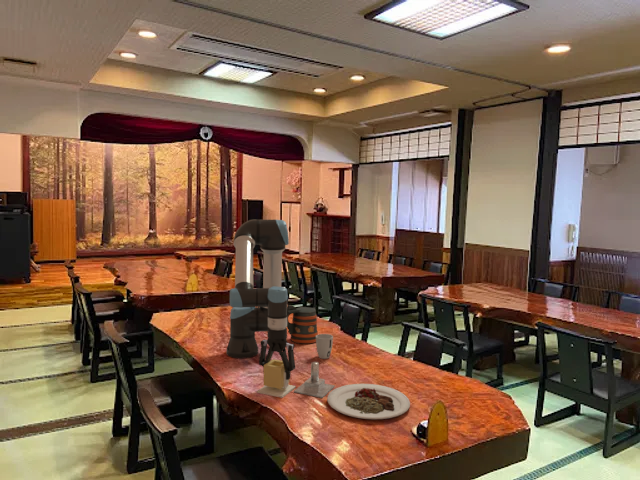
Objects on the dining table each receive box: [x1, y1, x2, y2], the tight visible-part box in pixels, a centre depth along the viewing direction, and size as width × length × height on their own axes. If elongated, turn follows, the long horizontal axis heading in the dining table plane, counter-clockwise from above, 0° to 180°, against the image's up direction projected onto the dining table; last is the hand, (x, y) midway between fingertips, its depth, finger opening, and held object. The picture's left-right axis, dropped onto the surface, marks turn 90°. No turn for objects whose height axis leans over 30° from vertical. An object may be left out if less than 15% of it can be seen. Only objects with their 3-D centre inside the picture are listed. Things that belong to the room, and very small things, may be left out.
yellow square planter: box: [263, 358, 291, 389], centre depth 183 cm, size 7×7×8 cm
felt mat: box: [256, 384, 297, 399], centre depth 183 cm, size 11×11×1 cm
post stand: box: [293, 361, 335, 399], centre depth 184 cm, size 12×12×11 cm
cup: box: [315, 333, 334, 360], centre depth 222 cm, size 8×8×10 cm
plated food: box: [327, 383, 411, 420], centre depth 172 cm, size 30×30×3 cm
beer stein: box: [286, 304, 319, 345], centre depth 247 cm, size 19×15×20 cm
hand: (276, 385), depth 183 cm, fingers closed on yellow square planter, 7 cm apart
